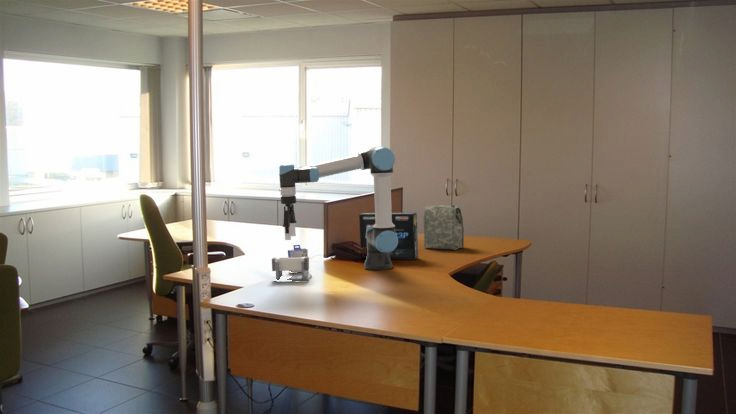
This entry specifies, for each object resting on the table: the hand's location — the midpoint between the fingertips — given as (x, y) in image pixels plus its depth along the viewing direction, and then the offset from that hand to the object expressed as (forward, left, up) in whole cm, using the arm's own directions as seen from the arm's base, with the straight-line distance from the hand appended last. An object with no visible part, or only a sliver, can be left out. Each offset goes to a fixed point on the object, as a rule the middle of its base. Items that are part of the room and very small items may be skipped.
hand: (290, 238), depth 342 cm
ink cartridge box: (0, -20, -21) cm, 29 cm away
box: (-47, -57, -21) cm, 77 cm away
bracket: (0, 0, -21) cm, 21 cm away
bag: (-80, -91, -21) cm, 123 cm away
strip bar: (+1, 0, -16) cm, 16 cm away
